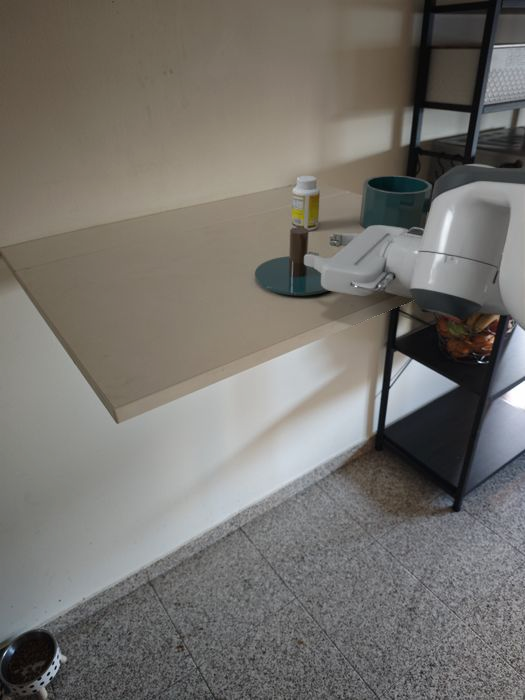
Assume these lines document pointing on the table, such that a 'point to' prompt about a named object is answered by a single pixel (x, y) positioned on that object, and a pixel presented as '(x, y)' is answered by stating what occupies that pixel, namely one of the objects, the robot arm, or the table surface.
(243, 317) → the table surface
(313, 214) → the supplement bottle
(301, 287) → the lid
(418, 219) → the pot
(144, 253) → the table surface
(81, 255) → the table surface
